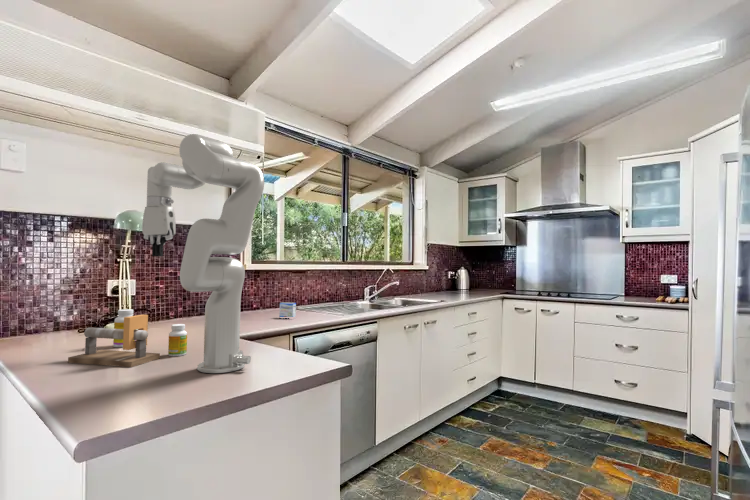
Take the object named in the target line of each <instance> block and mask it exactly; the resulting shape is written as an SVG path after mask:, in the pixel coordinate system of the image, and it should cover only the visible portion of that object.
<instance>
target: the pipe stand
mask: <svg viewBox="0 0 750 500" xmlns="http://www.w3.org/2000/svg"><path fill="white" fill-rule="evenodd" d="M123 332H124V329H114V328H108V327H107V328H106V327H105V328H104V327H86V328H85V330H84V333H83V335H84V336H85V341H84V342H85V344H84V345H85V346H84V353H82V354H77V355H73V356H68V357H67V363H68V364H69V363H71V364H81V365H82V364H83V365H97V366H109V367H124V368H133V367H137V366H139V365H143V364H146V363H149V362H153V361H155V360H159V359H160V358H161V353H157V352H148V351H147V345H146V339H147V340H148V336H149V333H148V332H147V331H146V330H138V329H136V330H134V337H133V340H135V341H136V340H138V341H136V348H135V351H130V350H110V349H99V350H97V341H98V340H97V339H109V340H112V339H113V340H114V339H123Z"/></svg>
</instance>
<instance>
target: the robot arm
mask: <svg viewBox="0 0 750 500" xmlns="http://www.w3.org/2000/svg"><path fill="white" fill-rule="evenodd" d="M179 156H180V158H181V160H182V165H180V164H173V163H168V162H165V161H164V162H157V164H155V165H154V166H150V167H148V169H147V178H146V179H147V180H146V206H144V209H143V210H144V211H143V216H142V225H141V229H142V230H141V231H142V234H143V239H144V240H148V241H149V242H150V245H151V246H152V247H151V248H152V250H151V256H152V257H163V256H164V246H165V245H166V243H167V241H168V240H172V239H173V238H174V236H175V235H176V234H177V233H176V230H177V229H176V225H177V224H176V213H175V208H174V207H173V206H172V204H174V202H175V201H174V199H172V196H173V193H172V192H173V191H172V190H173V188H177V189H184V190H195V189H198V188H200V187H203V186H204V185H205V184H209V185H214V186H220V187H224V188H231V189H235V191H234V192H233V193H231V194H230V195H229V197H228V198H227V199H226V200H225V201H224V203H223V206H222V210H221V214H220V217H219V218H218V219H213V218H200V219H197V220H196V221H195V222H193V224H191V226H190V229H189V230H188V233H187V236H186V241H185V244H184V245H185V246H184V249H183V255H182V259H181V265H180V269H179V281H180V285H181V287H182V288H183V289H184V290H185V291H187V292H192V293H194V292H195V293H201V292H211V294H210V295H209V297H208V298H207V301H206V303H205V308H204V333H203V336H204V338H203V340H204V341H203V361H202V362H200V363H198V364H197V371H199V372H201V373H205V374H206V373H207V374H224V373H231V372H235V371H239V370H242V369H243V368H244V367H245V366H246V365H250V364H251V359H252V358H251V357H252V356H251V355H244V350H241V349H240V342H241V341H240V337H241V335H240V334H241V330H240V329H241V303H242V291H243V287H244V283H245V277H246V270H245V266H244V265H243V264H244V263H242V262H241V261H240V260H239V259H237V258H234V257H227V256H212V255H239V254H242V253H243V252H244V251H245V249H246V247H247V245H248V240H249V237H250V233H251V229H252V226H253V221H254V216H255V213H256V209H257V207H258V204H259V202H260V200H261V198H262V195H263V193H264V192H263V191H264V188H265V178H264V175H263V171H262V170H261V169H260V168H259V167H258V166H257V165H256V164H254V163H253V162H249V161H247V160H244V159H241V158H238V157H234V152H233V150H232V148H231V146H229V145H228V144H227V143H225V142H224V141H221V140H218V139H215V138H212V137H208V136H204V135H202V134H198V133H191V134H188V135H186V136H185V137H184V138H183V139H182V140H181V142H180V143H179Z"/></svg>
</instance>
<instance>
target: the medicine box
mask: <svg viewBox="0 0 750 500" xmlns="http://www.w3.org/2000/svg"><path fill="white" fill-rule="evenodd" d="M278 314H279V317H295V316H296V315H297V302H279V313H278Z"/></svg>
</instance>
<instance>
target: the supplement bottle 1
mask: <svg viewBox="0 0 750 500" xmlns="http://www.w3.org/2000/svg"><path fill="white" fill-rule="evenodd" d="M117 314H118V316H116V317H115V318H114V321H113V326H114V327H113V329H124V317H130V316H134V309H130V308H129V309H128V308H127V309H125V308H124V309H118V311H117ZM135 330H137V329H135ZM133 341H136V340H133ZM112 342H113V345H112V346H113V347H114V348H122V349H123V339H113V341H112Z"/></svg>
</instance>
